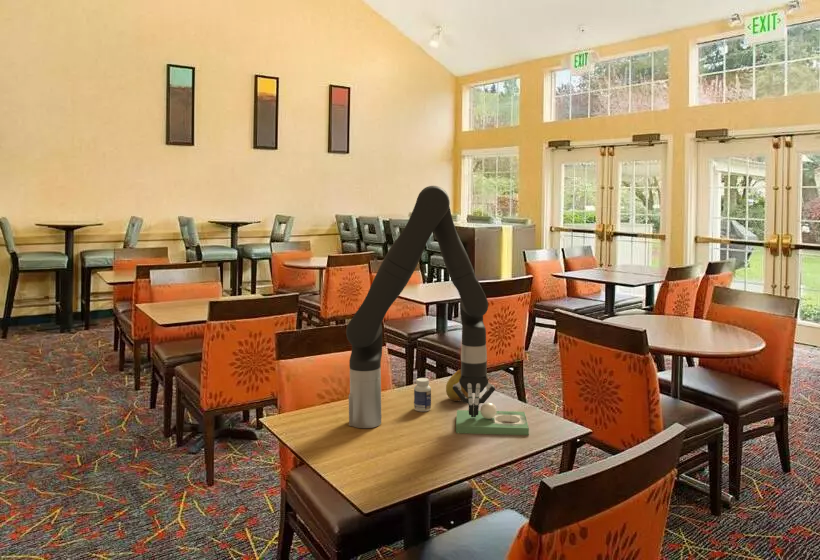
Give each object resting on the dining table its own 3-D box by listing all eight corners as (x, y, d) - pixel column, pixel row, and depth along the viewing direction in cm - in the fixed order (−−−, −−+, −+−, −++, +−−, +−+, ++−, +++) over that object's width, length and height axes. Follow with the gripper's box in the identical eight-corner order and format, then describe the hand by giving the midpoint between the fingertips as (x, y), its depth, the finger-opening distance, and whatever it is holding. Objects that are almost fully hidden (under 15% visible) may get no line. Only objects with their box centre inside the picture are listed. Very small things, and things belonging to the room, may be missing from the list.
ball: (481, 422, 184) (479, 406, 183) (480, 416, 189) (479, 400, 188) (497, 421, 183) (496, 405, 183) (496, 415, 188) (495, 399, 188)
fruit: (442, 397, 213) (442, 362, 212) (467, 394, 216) (467, 360, 214) (451, 405, 205) (451, 369, 203) (477, 402, 208) (477, 366, 206)
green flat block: (456, 433, 180) (456, 426, 180) (456, 416, 194) (456, 410, 194) (529, 435, 178) (529, 428, 178) (524, 418, 192) (524, 411, 192)
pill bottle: (429, 412, 198) (429, 382, 197) (412, 411, 199) (412, 381, 198) (432, 407, 203) (432, 377, 202) (416, 406, 204) (415, 376, 203)
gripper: (450, 362, 181) (450, 420, 183) (497, 362, 180) (496, 421, 182) (451, 355, 189) (451, 411, 191) (496, 356, 187) (495, 412, 190)
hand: (473, 416), depth 186 cm, fingers closed
